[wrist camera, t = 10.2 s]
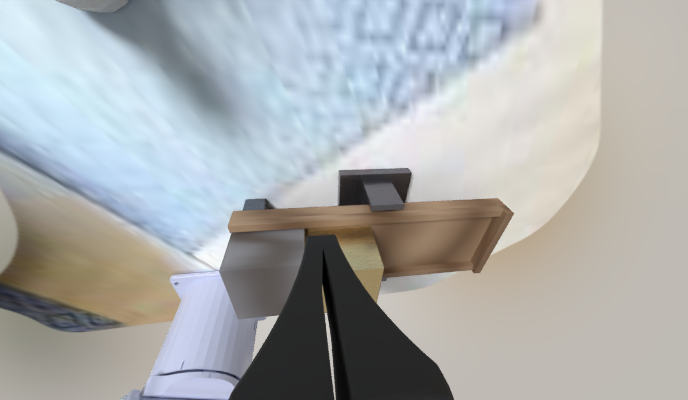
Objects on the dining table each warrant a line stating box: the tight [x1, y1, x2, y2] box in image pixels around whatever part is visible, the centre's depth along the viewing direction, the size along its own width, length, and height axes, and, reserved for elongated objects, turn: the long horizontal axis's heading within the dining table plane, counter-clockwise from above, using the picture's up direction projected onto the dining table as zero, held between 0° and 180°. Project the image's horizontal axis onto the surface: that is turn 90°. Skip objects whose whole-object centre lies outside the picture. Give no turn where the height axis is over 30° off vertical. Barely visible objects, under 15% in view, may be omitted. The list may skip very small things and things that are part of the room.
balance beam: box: [219, 198, 514, 319], centre depth 19 cm, size 21×7×5 cm, turn 88°
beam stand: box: [243, 168, 411, 281], centre depth 21 cm, size 14×10×4 cm
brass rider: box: [305, 226, 384, 313], centre depth 18 cm, size 5×5×4 cm
